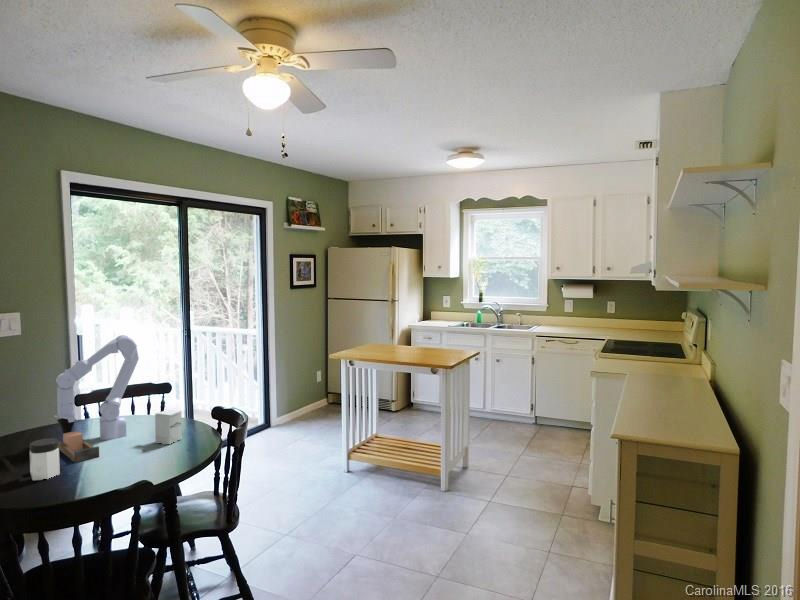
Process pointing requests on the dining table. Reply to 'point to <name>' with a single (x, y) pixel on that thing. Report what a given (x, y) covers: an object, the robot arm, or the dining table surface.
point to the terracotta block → (73, 440)
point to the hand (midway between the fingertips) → (66, 436)
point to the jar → (44, 459)
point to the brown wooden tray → (80, 452)
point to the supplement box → (168, 426)
